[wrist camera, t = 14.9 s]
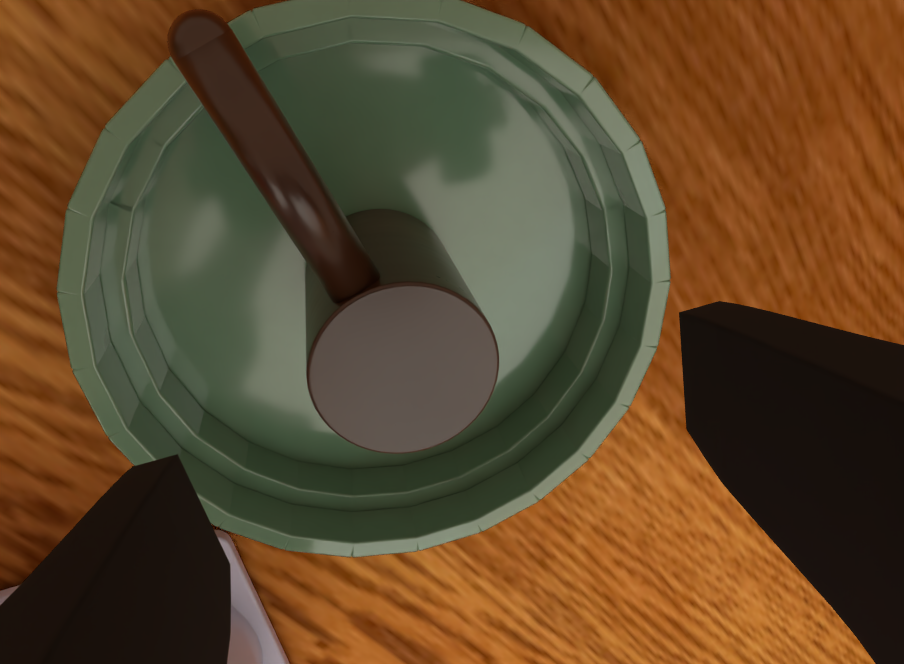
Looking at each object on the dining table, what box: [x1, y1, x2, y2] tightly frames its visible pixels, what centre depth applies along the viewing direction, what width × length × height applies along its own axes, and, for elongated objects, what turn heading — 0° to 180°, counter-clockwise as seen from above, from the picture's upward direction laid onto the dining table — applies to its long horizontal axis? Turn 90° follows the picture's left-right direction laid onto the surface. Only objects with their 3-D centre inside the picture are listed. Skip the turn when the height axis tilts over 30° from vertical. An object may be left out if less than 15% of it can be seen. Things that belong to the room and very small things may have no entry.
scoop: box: [167, 9, 499, 454], centre depth 14 cm, size 4×9×5 cm, turn 27°
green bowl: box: [57, 0, 671, 557], centre depth 17 cm, size 13×13×3 cm
